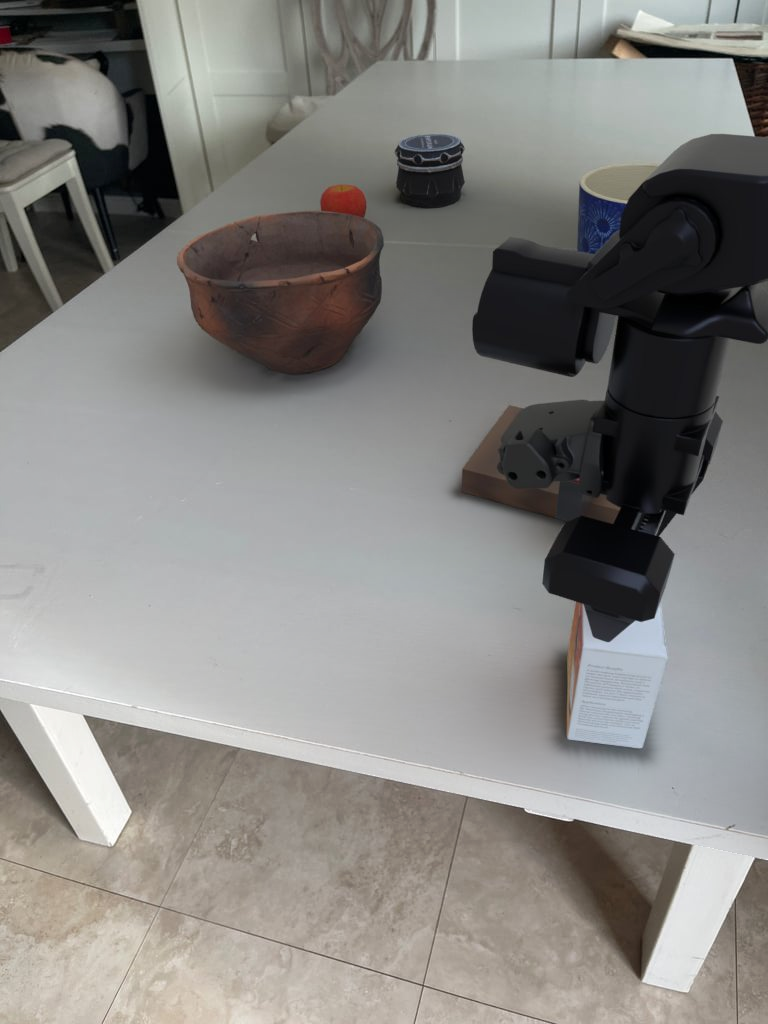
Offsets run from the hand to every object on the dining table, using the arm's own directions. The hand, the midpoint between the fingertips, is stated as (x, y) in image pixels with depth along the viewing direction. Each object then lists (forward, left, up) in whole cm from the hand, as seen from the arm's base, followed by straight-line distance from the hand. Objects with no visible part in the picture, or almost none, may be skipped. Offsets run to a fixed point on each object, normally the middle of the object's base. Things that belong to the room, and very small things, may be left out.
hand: (621, 591), depth 54 cm
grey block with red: (+8, -21, -9) cm, 24 cm away
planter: (+17, -73, -12) cm, 76 cm away
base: (+10, -23, -12) cm, 28 cm away
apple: (+68, -79, -12) cm, 105 cm away
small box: (0, 0, -12) cm, 12 cm away
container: (+61, -99, -12) cm, 117 cm away
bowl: (+52, -38, -12) cm, 66 cm away
